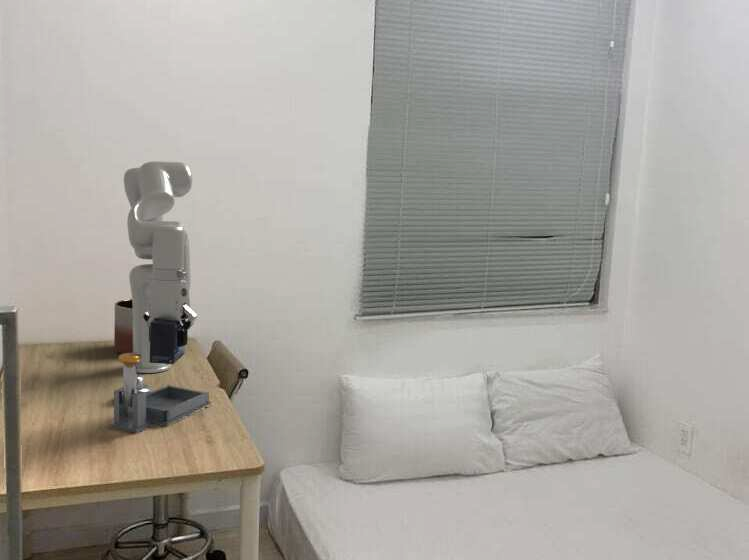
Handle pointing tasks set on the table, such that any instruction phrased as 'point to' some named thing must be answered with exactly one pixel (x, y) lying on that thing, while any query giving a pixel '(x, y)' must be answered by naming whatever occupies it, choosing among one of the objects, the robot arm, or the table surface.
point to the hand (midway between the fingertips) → (168, 343)
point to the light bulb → (129, 376)
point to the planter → (124, 326)
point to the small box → (164, 342)
